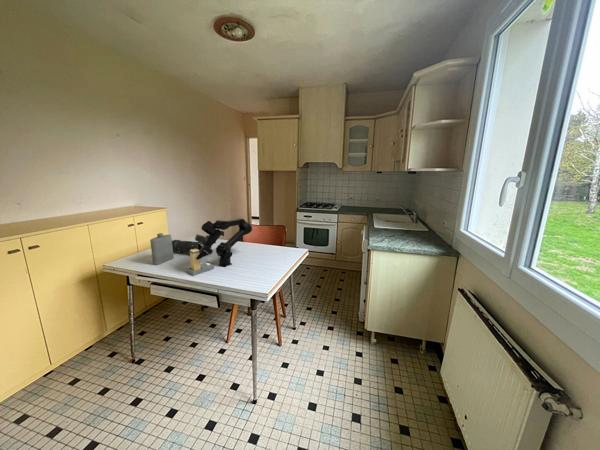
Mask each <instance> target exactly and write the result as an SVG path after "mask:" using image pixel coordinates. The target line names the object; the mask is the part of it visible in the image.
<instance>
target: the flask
mask: <svg viewBox="0 0 600 450" xmlns="http://www.w3.org/2000/svg"><path fill="white" fill-rule="evenodd" d="M172 240H173V239H172V234H163V232H158V233H157V234H156V236H155V237H152V238H151V239H150V250H151V257H152V264H153V265H154V266H159V265H162V264H164V263H166V262H169V261H172V260H174V252H173V247H172Z"/></svg>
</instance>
